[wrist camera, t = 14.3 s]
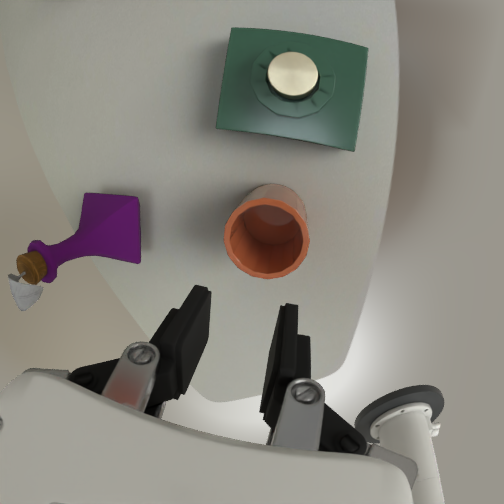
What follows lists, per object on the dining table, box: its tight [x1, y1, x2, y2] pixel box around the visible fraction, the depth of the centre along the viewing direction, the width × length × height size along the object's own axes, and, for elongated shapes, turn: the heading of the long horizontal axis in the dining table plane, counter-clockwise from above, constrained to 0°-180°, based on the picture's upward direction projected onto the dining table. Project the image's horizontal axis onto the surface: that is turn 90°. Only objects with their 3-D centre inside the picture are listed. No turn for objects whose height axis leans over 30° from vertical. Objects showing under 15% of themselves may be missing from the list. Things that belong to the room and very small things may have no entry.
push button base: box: [216, 28, 368, 152], centre depth 20 cm, size 12×10×5 cm
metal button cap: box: [268, 52, 318, 100], centre depth 17 cm, size 4×4×2 cm
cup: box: [224, 184, 310, 279], centre depth 25 cm, size 7×7×7 cm
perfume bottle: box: [8, 193, 141, 311], centre depth 22 cm, size 8×8×18 cm
